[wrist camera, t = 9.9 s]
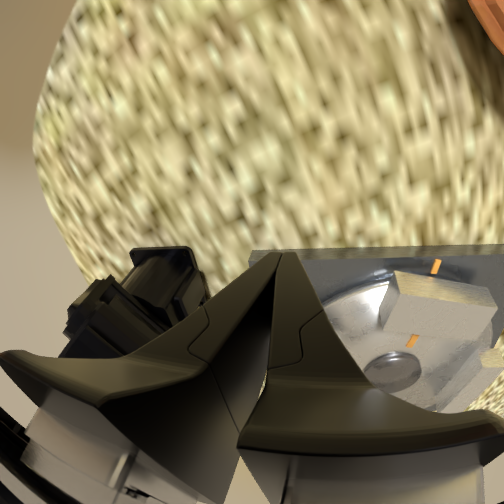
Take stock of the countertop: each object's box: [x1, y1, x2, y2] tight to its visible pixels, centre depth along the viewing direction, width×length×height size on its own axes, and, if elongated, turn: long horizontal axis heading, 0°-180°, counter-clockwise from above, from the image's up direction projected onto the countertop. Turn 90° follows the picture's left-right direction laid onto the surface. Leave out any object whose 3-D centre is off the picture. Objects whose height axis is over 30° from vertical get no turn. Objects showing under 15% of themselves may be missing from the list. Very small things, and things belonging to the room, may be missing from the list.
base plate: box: [248, 244, 504, 411], centre depth 27 cm, size 25×25×2 cm
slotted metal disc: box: [321, 270, 504, 413], centre depth 24 cm, size 23×23×4 cm
